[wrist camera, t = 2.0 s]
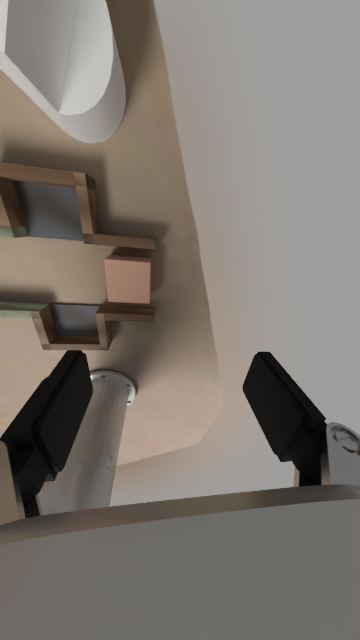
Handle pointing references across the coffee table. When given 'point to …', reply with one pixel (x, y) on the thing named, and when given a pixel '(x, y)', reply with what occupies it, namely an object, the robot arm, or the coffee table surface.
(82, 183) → the box
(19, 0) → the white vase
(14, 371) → the coffee table surface
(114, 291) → the terracotta block
